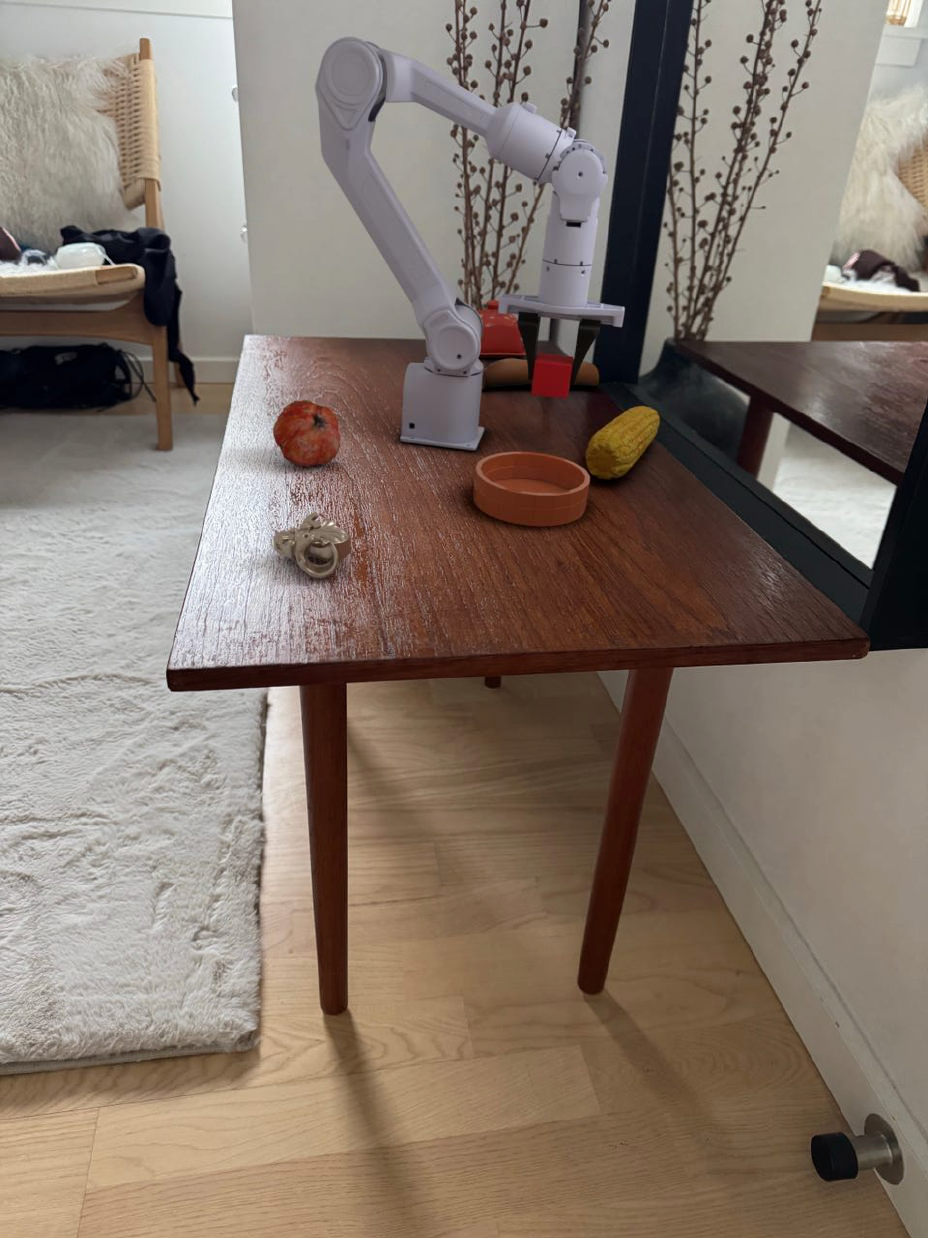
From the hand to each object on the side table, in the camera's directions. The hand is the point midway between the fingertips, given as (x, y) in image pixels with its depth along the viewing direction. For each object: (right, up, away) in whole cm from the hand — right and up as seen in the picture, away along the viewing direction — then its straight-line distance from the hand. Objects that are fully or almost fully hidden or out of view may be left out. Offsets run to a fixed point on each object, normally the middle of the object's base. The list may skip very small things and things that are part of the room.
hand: (552, 380), depth 108 cm
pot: (-4, -16, -11) cm, 20 cm away
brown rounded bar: (0, +7, +28) cm, 28 cm away
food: (+9, -9, +2) cm, 13 cm away
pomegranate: (-29, -11, -6) cm, 31 cm away
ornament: (-25, -24, -26) cm, 43 cm away
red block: (0, -1, +1) cm, 1 cm away
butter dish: (-6, +16, +42) cm, 45 cm away
